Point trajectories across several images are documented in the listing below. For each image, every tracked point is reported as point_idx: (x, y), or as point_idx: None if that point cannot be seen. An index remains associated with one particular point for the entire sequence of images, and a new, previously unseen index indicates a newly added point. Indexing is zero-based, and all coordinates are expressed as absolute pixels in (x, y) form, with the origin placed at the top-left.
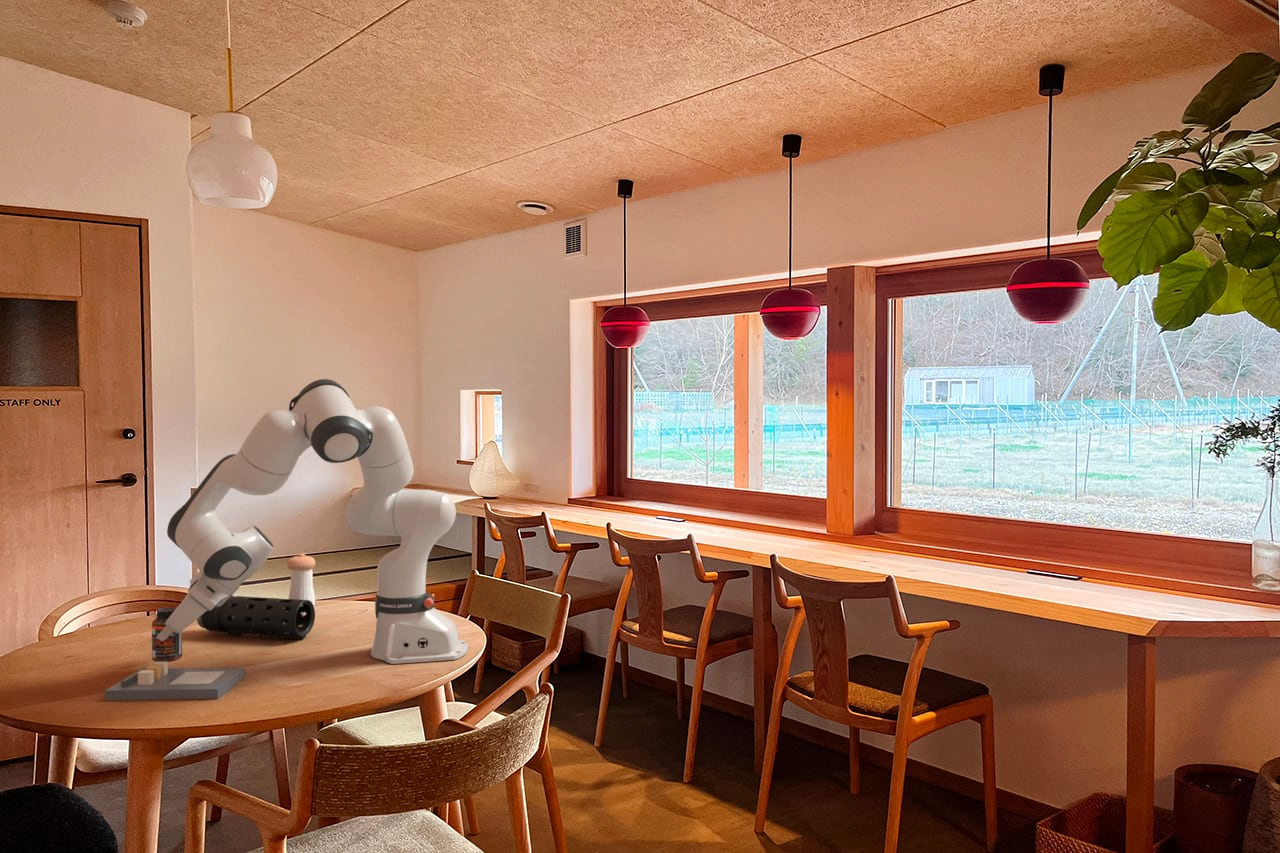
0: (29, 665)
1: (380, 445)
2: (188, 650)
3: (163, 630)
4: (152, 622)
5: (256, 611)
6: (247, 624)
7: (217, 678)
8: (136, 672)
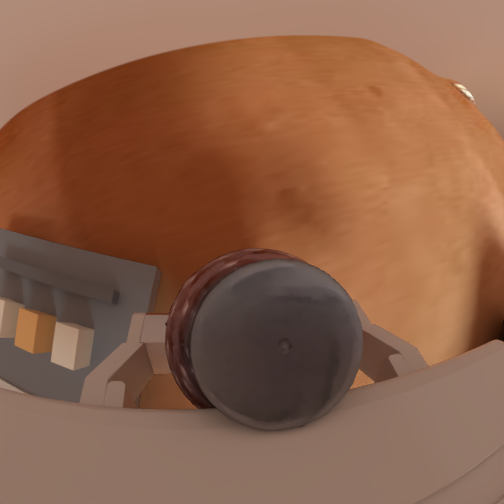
0: (323, 50)
1: None
2: (419, 324)
3: (117, 351)
4: (228, 254)
5: None
6: None
7: None
8: (53, 277)
